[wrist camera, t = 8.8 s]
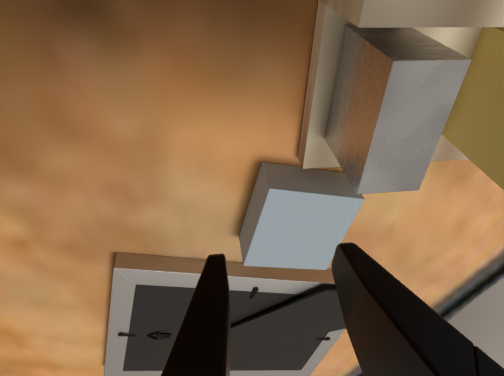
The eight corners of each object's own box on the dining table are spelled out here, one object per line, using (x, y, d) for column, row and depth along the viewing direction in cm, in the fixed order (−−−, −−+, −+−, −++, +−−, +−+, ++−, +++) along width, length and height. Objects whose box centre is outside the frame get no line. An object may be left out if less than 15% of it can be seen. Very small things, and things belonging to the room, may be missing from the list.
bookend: (405, 24, 17) (471, 59, 13) (374, 136, 20) (418, 190, 17) (344, 24, 16) (393, 60, 12) (324, 138, 20) (357, 194, 16)
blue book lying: (347, 170, 24) (364, 199, 21) (314, 239, 27) (325, 270, 25) (261, 159, 22) (269, 188, 20) (238, 233, 26) (243, 265, 24)
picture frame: (368, 267, 31) (118, 244, 26) (381, 294, 29) (111, 276, 23) (303, 358, 40) (107, 357, 34) (310, 384, 38) (101, 388, 32)
